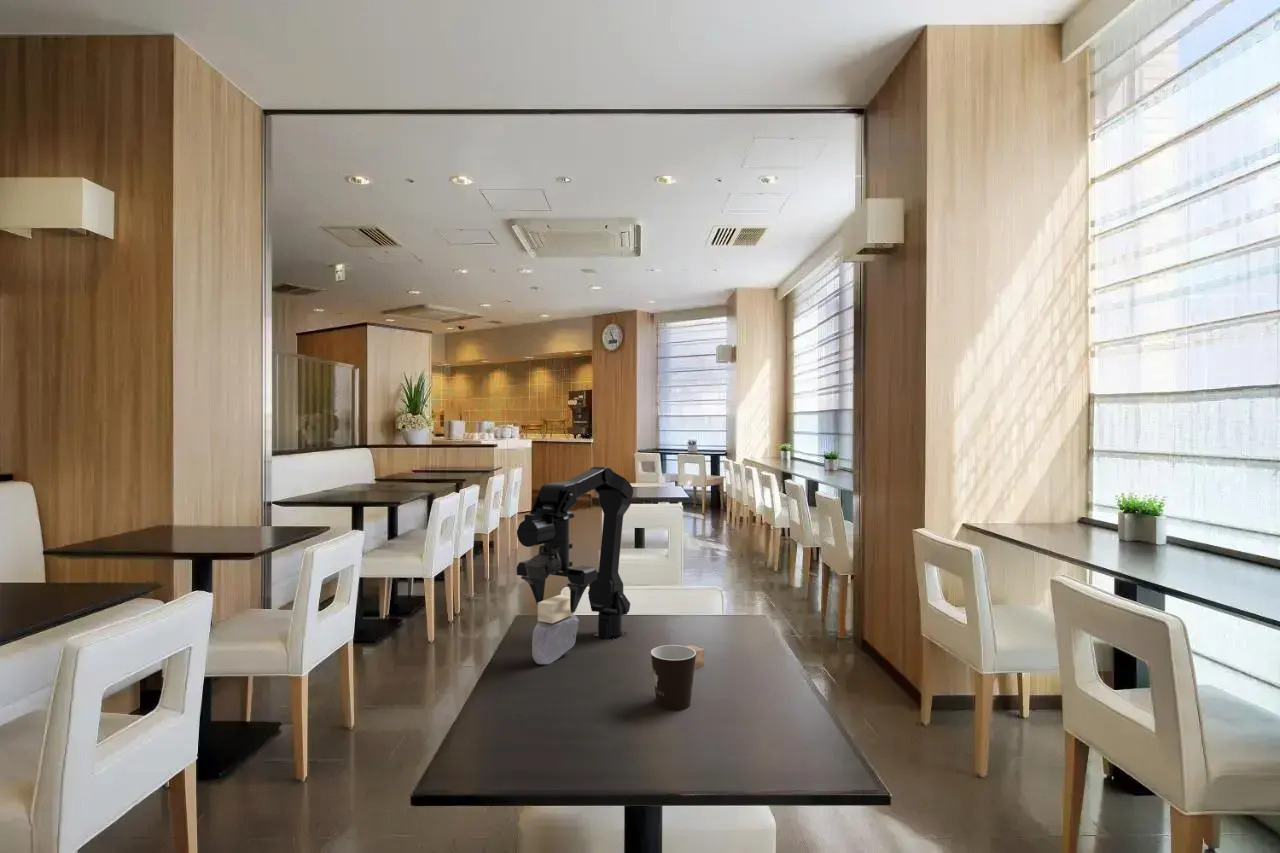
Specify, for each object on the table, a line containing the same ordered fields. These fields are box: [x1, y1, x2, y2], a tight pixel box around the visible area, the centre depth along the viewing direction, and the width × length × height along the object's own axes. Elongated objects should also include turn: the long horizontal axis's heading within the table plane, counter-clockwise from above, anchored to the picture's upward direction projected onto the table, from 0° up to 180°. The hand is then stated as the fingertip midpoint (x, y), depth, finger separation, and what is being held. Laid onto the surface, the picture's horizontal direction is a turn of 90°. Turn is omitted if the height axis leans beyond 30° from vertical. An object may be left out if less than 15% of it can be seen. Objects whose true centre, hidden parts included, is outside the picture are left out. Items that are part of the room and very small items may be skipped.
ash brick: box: [537, 594, 575, 623], centre depth 154 cm, size 8×4×4 cm, turn 150°
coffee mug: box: [650, 644, 696, 712], centre depth 132 cm, size 12×9×10 cm
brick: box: [686, 644, 705, 671], centre depth 150 cm, size 8×4×4 cm, turn 136°
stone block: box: [531, 614, 580, 665], centre depth 154 cm, size 12×5×10 cm, turn 143°
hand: (556, 609), depth 154 cm, fingers open, 9 cm apart
